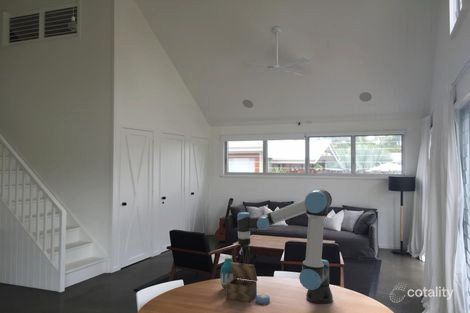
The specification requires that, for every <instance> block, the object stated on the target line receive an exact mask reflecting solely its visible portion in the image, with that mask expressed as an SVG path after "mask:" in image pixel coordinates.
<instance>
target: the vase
mask: <svg viewBox="0 0 470 313" xmlns="http://www.w3.org/2000/svg"><path fill="white" fill-rule="evenodd" d="M223 262H224V263H223V264H222V265H221V267H220V285H221V287H222V289H224V290H226V283H228V282H230V281H231V280H233V279H236V278H233V274H232V270H231V266H230V262H233V263H234V260H233V258H231V257H229V258H224V260H223Z"/></svg>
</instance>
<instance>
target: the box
mask: <svg viewBox="0 0 470 313" xmlns="http://www.w3.org/2000/svg"><path fill="white" fill-rule="evenodd" d="M257 282H258V280H257V281H252V280H244V279H233V280H231V281H230V282H228V283H226V289H225V290H226V291H225V294H226V295H225V296H226V297H225V298H226V300H232V301H238V302H243V303H251V302H252V301H254V299H256V296H257V295H258V292H257V290H258V289H257V287H258V286H257V285H258V284H257Z"/></svg>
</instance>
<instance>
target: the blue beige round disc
mask: <svg viewBox="0 0 470 313" xmlns="http://www.w3.org/2000/svg"><path fill="white" fill-rule="evenodd" d="M270 299H271V297H270V296H269V295H268V294H257V296H256V298H255V303H256V304H259V305H267V304H270V303H271V300H270Z"/></svg>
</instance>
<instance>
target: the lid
mask: <svg viewBox="0 0 470 313" xmlns="http://www.w3.org/2000/svg"><path fill="white" fill-rule="evenodd" d="M230 266H231V270H232V274H233V278H236V279H242V280H249V281H257V282H258V276H257V273H256V271H257V270H256V268H255V264H250V263H248V264H244V263H240V262H234V261H233V262H230Z"/></svg>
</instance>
